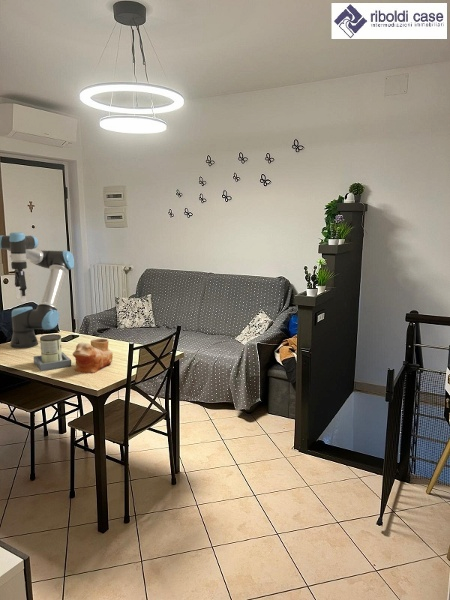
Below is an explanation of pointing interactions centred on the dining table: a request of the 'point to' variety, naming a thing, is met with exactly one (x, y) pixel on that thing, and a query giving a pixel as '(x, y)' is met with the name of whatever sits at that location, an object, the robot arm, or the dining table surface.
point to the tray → (52, 363)
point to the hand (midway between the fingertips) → (21, 300)
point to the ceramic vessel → (92, 356)
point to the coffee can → (51, 348)
